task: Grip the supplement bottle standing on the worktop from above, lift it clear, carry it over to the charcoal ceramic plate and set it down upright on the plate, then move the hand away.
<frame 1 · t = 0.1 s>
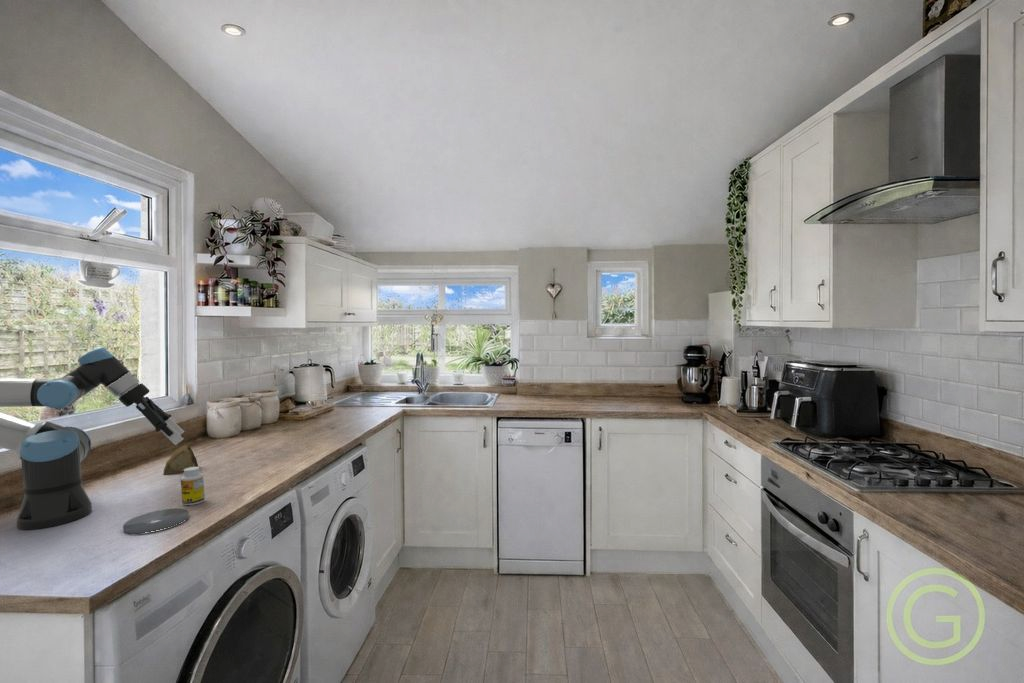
hand: (180, 438, 161), 15 cm above the worktop, fingers open, 13 cm apart
supplement bottle: (193, 503, 144), on the worktop
plate: (157, 523, 130), on the worktop
rock: (180, 471, 177), on the worktop
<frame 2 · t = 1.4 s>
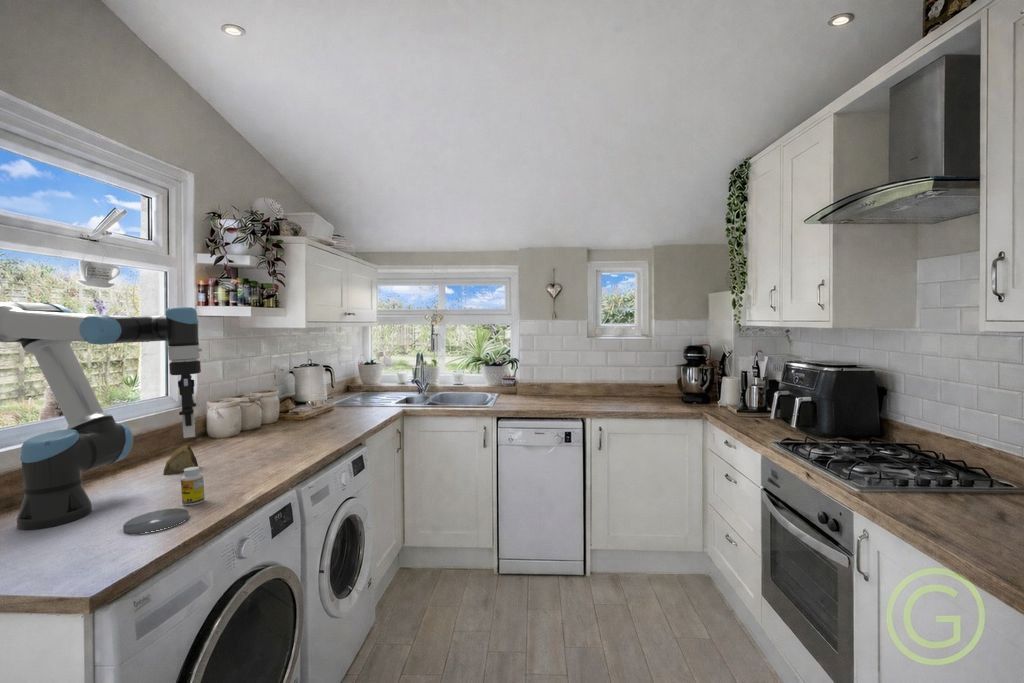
hand: (189, 433, 143), 21 cm above the worktop, fingers open, 13 cm apart
nothing on the worktop moved.
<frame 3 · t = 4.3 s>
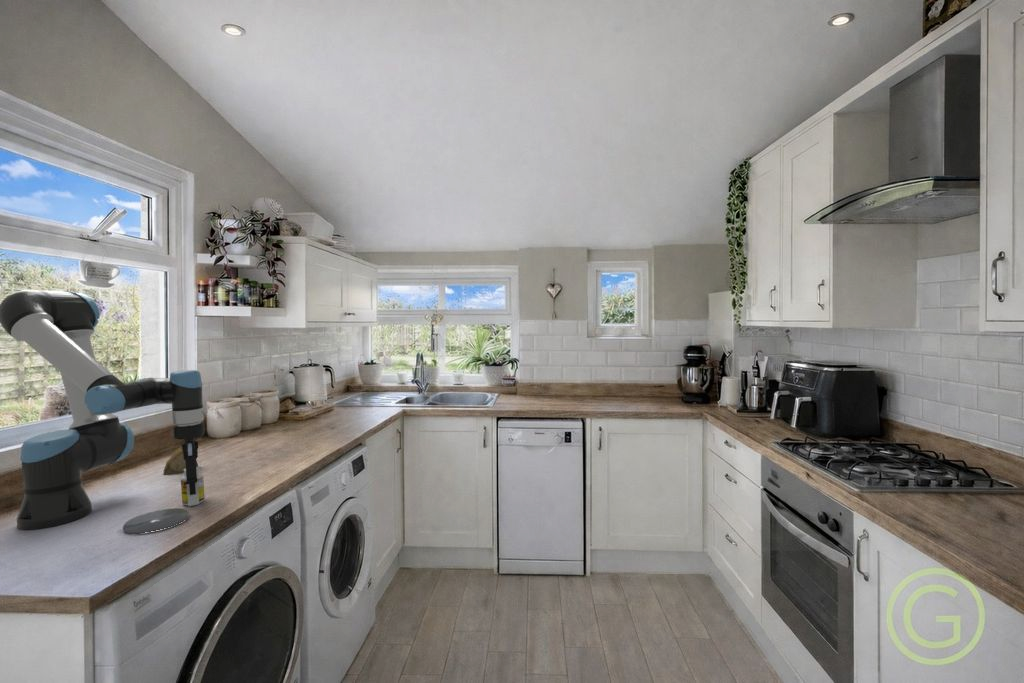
hand: (193, 501, 144), 0 cm above the worktop, fingers closed on supplement bottle, 6 cm apart
supplement bottle: (193, 503, 144), on the worktop, touching gripper
everything else where it was.
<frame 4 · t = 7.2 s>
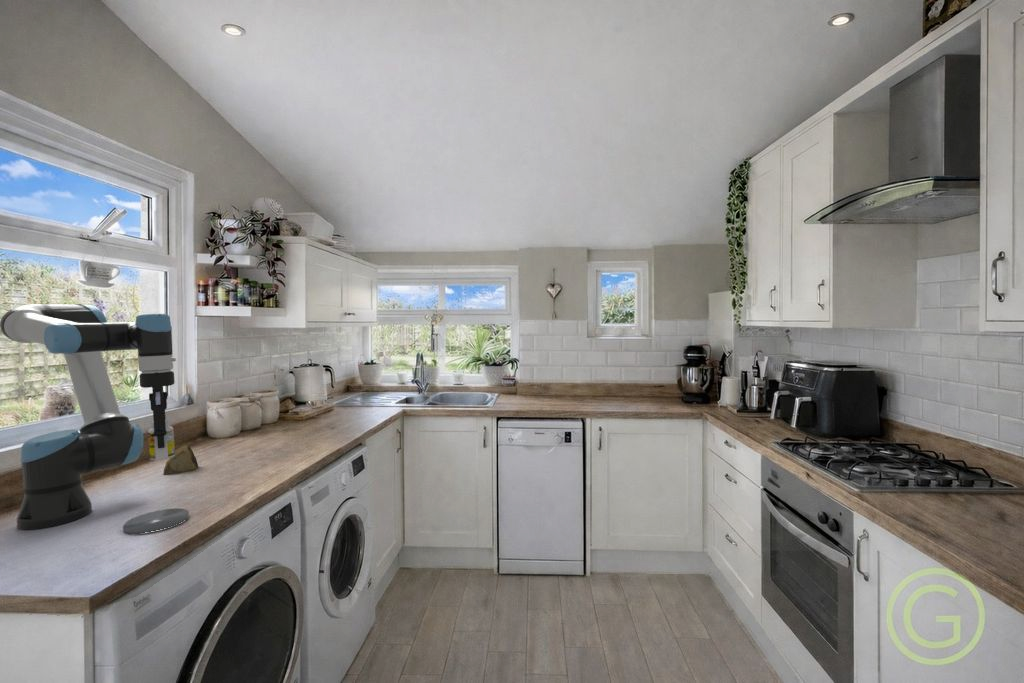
hand: (162, 456, 132), 17 cm above the worktop, fingers closed on supplement bottle, 6 cm apart
supplement bottle: (162, 459, 132), point 16 cm above the worktop, touching gripper
everything else where it was.
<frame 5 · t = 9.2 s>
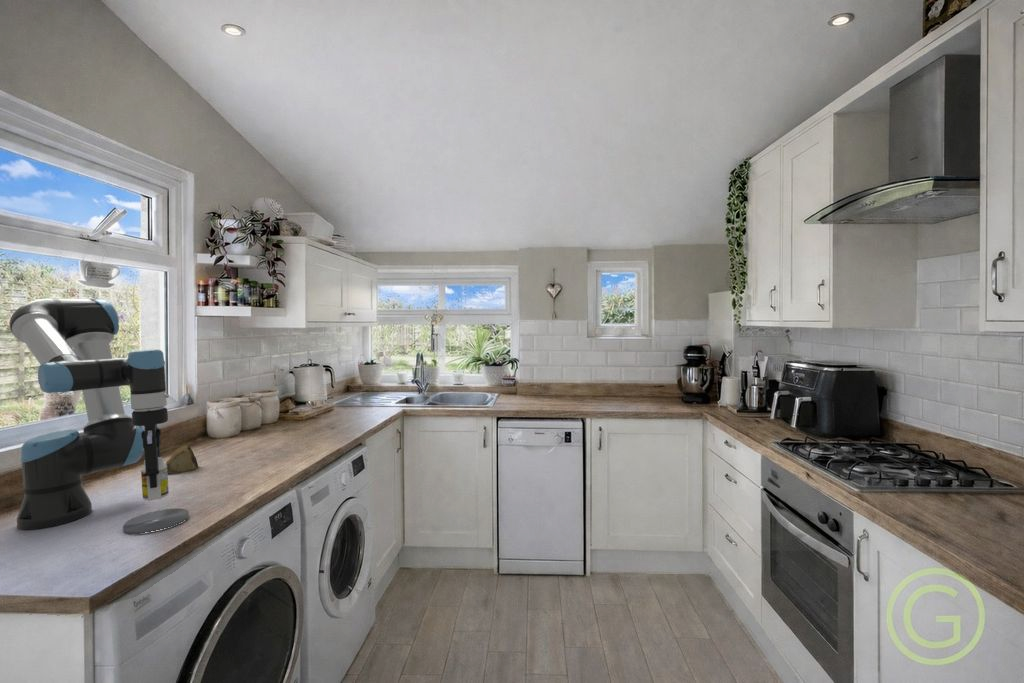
hand: (155, 495, 129), 7 cm above the worktop, fingers closed on supplement bottle, 6 cm apart
supplement bottle: (156, 497, 129), point 7 cm above the worktop, touching gripper
everything else where it was.
when the fingers open (3 cm above the worktop, at t = 10.4 s): supplement bottle drops 1 cm, resting on plate.
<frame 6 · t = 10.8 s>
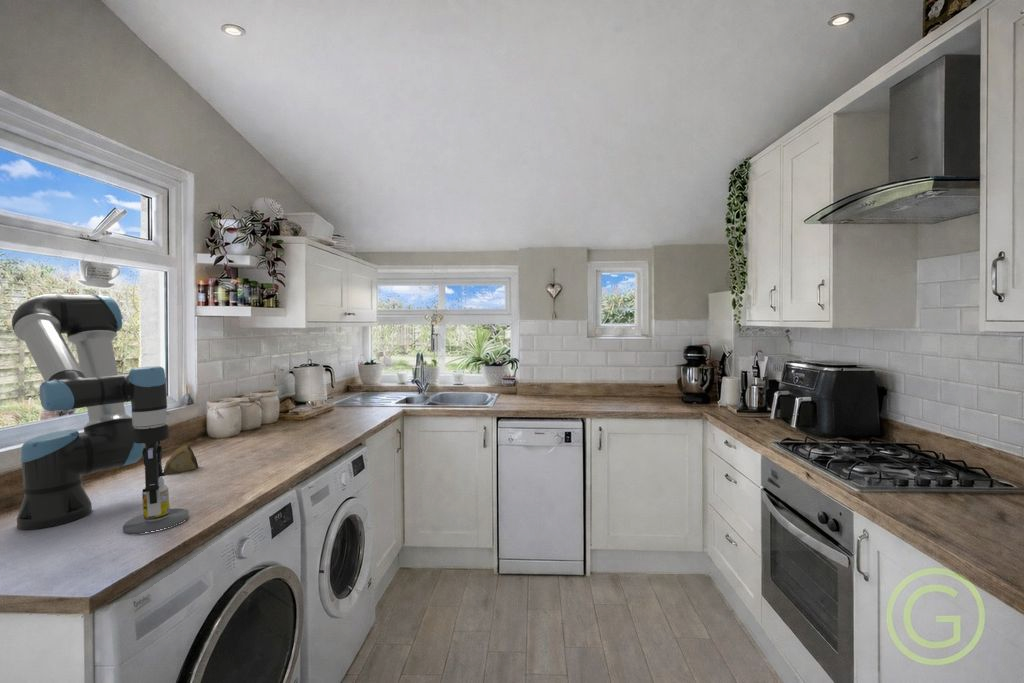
hand: (156, 508, 129), 4 cm above the worktop, fingers open, 11 cm apart
supplement bottle: (157, 519, 130), point 1 cm above the worktop, touching plate
everything else where it was.
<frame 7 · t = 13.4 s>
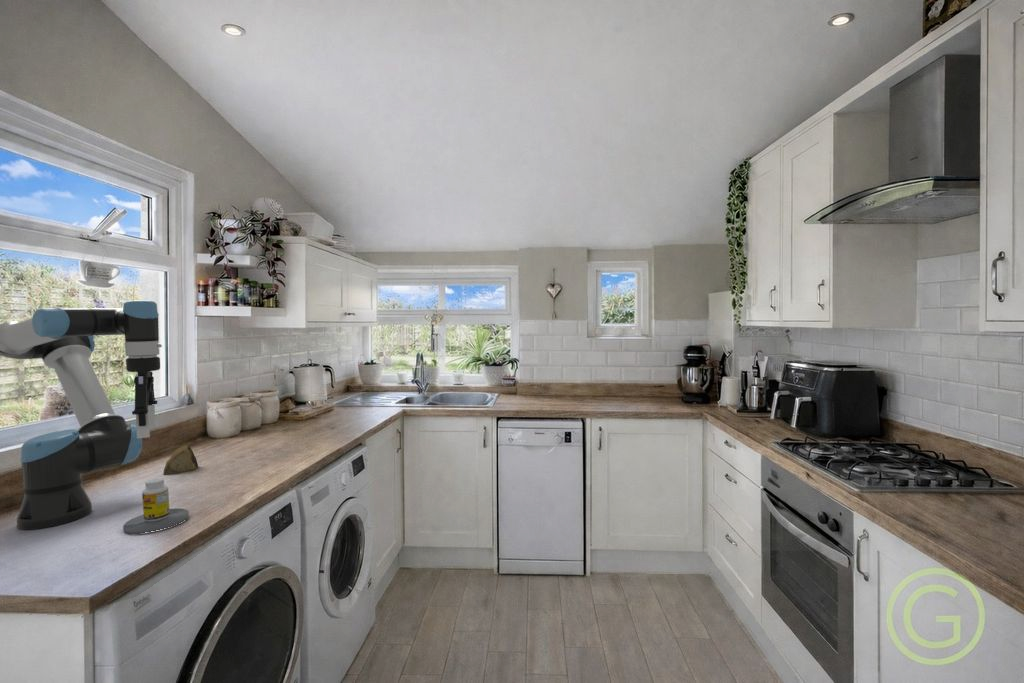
hand: (146, 432, 137), 23 cm above the worktop, fingers open, 13 cm apart
nothing on the worktop moved.
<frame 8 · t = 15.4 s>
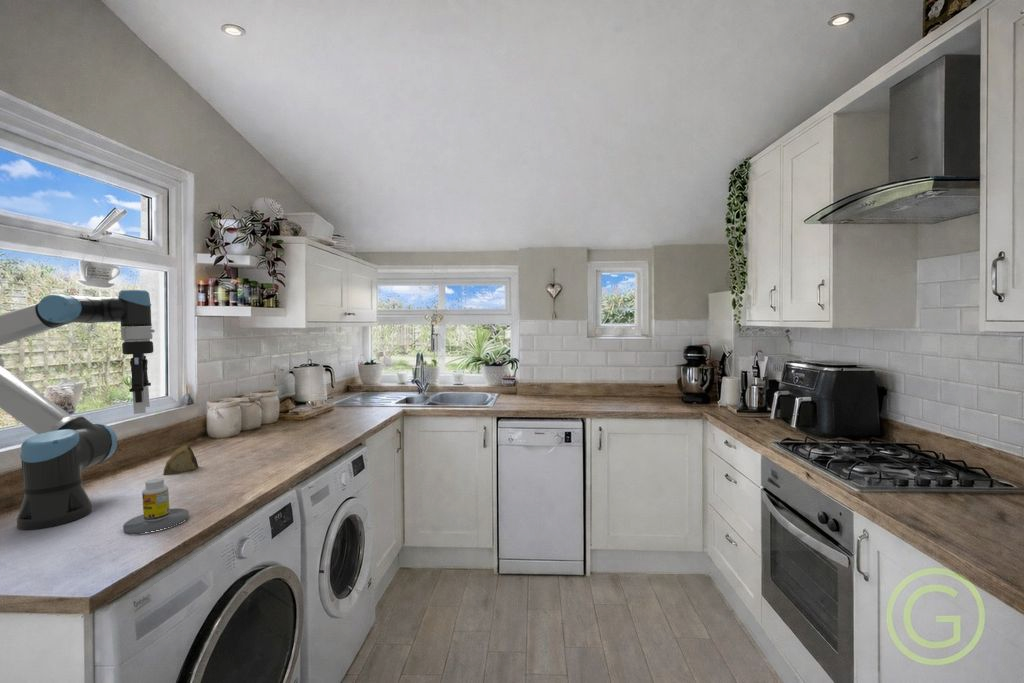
hand: (142, 410, 150), 27 cm above the worktop, fingers open, 13 cm apart
nothing on the worktop moved.
at the end: supplement bottle inside the target area on the plate (0.0 cm from its centre), point 1.0 cm above the plate's base; supplement bottle tilted 0°; the gripper is holding nothing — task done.
